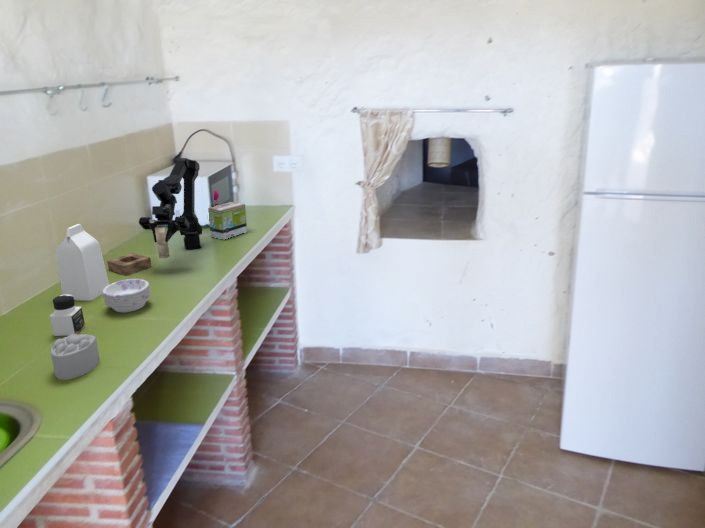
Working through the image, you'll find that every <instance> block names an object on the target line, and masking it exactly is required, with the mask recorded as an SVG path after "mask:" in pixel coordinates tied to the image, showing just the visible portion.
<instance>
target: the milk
mask: <svg viewBox="0 0 705 528" xmlns="http://www.w3.org/2000/svg"><path fill="white" fill-rule="evenodd" d="M101 248H102V247H101V244H100V242H98V240H97V239H96V238H94V236H92V235H91V234H89V233H88V232H86V231H85V230H84V227H83V226H82V224H81V223H77V224H74V225H72V226H70V227H67V229H66V235H65V238H64V239H63V240H62V241H61V243H60V244H59V245H58V246H57V248H56V250H55V254H56V262H57V267H58V274H59V275H58V276H59V280H60V282H59V283H60V287H61V292H62V293H61V295H65V294H68V295H72V296H73V297H74V301H84V302H85V301H87V302H88V301H89V302H92V301H93V300H95V299H96V298H97V299H98V297H99V296H101V295H103V289H104V288H105V287H106V286H108V285H109V284H110V280H109V278H108V274H107V268H106V264H105V262H104V261H105V260H104V258H103V253H102V249H101Z"/></svg>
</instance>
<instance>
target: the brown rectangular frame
mask: <svg viewBox="0 0 705 528" xmlns="http://www.w3.org/2000/svg"><path fill="white" fill-rule="evenodd" d="M107 267H108V271H111V272H113V273H116V274H119V275H123V276H129V275H132V274H135V273H138V272H140V271H143V270H146V269H150V268H152V261H151V257H148V256H145V255H142V254H138V253H134V252H132V253H129V254H125V255H122V256H119V257H116V258H113V259H109V260H107ZM149 267H150V268H149Z"/></svg>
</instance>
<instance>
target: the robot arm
mask: <svg viewBox="0 0 705 528" xmlns="http://www.w3.org/2000/svg"><path fill="white" fill-rule="evenodd" d="M199 172H200V163H199V162H198V161H197V160H194V159H193V160H192V159H189V158H187V157H178V158H175V164H174V165H173V168H172V170H171V171H170V174H169V175H168V176H166V177H164V178H163V179H158V182H156V183H154V184H153V186H152V188H151V191H152V192H153V194H154V196H155V197H156V198H157V200H158V201H159V202H160V204H159V205H157V206H156V205H155V206H154V205H153V206H152V209H151V211H152V212H151V215H153V216H154V218H155V219H154V218H153V219H152V218H151V217H149V216H141V217H139V220H138V224H139V225H140V227H142V228H143V230H150V231H152V236H153V240H154V243H156V244H157V240H156V233H155V228H156V227H159V226H167V229H166V239H165V242H169V241H170V239H172V237H173V236H174V235H175V234H176V232H178V231H179V233H180V236H184V237H182V238H183V244H184V248H185V249H186V250H195V249H202V246H201V240H200V235H202V234H203V227H202V226H201V223H200V222H199V218H198V217H197V215H196V213H195V192H196V191H195V189H196V187H195V182H196V179H197V178H198V176H199ZM182 179H183V186H182V184H181V181H182ZM182 188H183V213H182V214H181V215H180V216H175V215H176V213H175V207H176V204H177V203H178V202H177V201H178V200H177V197H176V196H175V195H179V194H180V192H181V191H182ZM174 216H175V218H174Z"/></svg>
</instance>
